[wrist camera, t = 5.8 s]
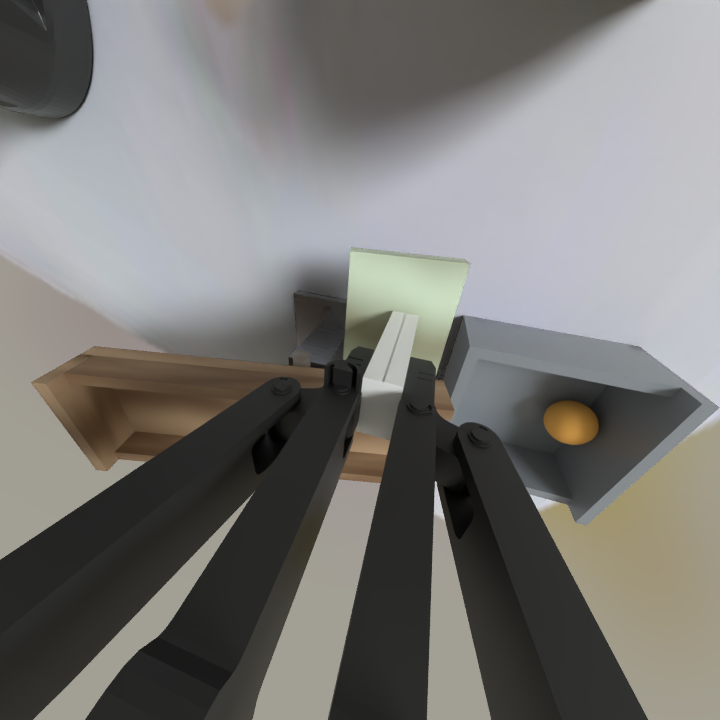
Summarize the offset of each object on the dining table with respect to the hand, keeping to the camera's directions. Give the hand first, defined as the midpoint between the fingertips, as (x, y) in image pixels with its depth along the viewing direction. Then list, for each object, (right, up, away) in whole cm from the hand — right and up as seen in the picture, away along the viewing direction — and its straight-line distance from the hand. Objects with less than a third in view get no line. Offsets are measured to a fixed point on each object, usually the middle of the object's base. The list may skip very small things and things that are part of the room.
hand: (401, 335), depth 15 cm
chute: (-8, -1, +4) cm, 10 cm away
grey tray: (+12, -4, +10) cm, 16 cm away
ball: (+15, -7, +7) cm, 18 cm away
